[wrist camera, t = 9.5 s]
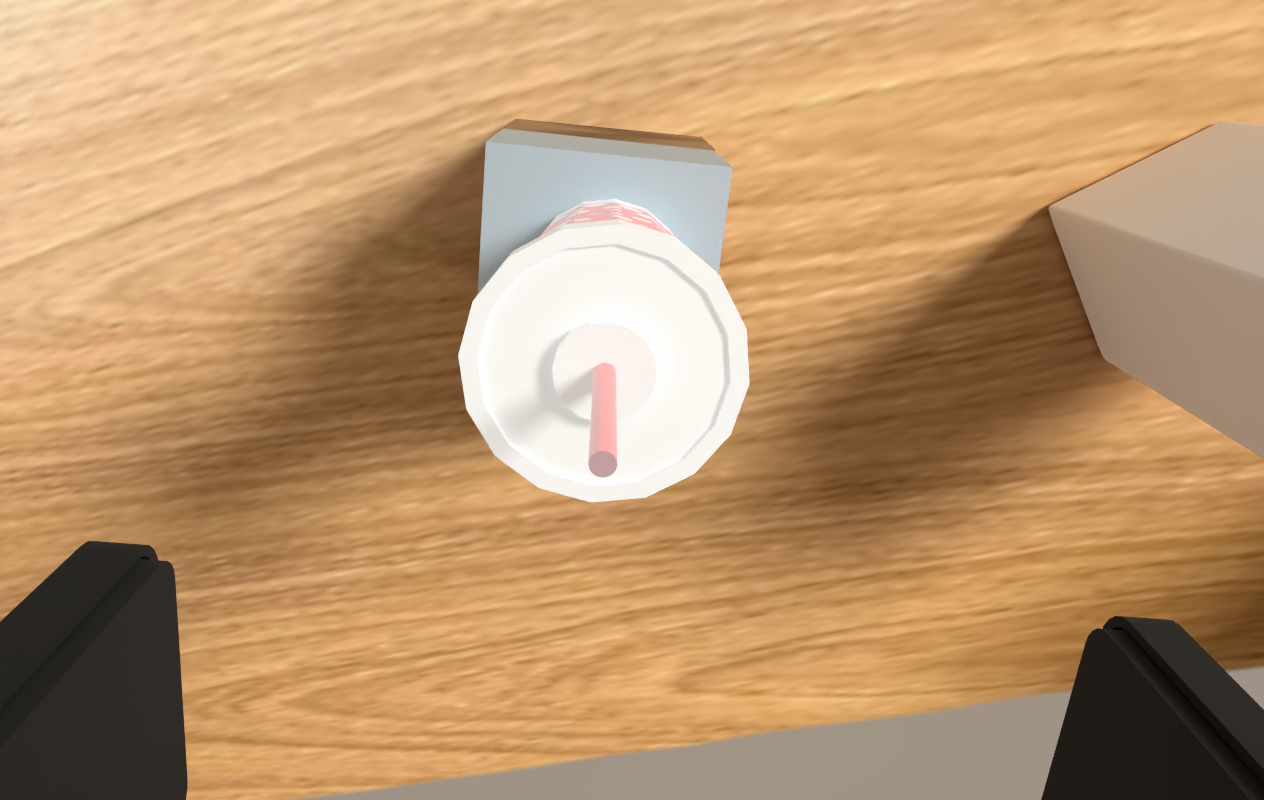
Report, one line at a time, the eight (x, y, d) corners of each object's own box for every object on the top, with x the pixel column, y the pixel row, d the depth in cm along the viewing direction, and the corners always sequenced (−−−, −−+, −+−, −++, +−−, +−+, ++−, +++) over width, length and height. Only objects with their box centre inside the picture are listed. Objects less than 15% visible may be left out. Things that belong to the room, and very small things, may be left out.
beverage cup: (696, 385, 31) (761, 642, 17) (495, 366, 30) (405, 613, 17) (724, 183, 29) (821, 298, 15) (509, 160, 28) (419, 258, 15)
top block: (714, 150, 33) (732, 167, 28) (689, 352, 35) (701, 398, 31) (503, 128, 33) (485, 141, 28) (490, 333, 35) (472, 378, 30)
